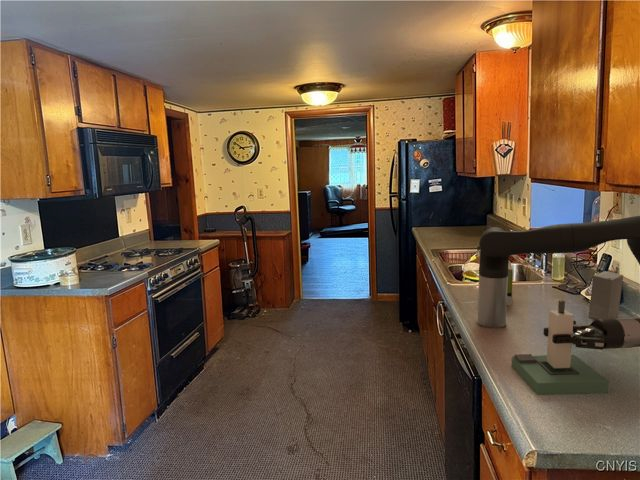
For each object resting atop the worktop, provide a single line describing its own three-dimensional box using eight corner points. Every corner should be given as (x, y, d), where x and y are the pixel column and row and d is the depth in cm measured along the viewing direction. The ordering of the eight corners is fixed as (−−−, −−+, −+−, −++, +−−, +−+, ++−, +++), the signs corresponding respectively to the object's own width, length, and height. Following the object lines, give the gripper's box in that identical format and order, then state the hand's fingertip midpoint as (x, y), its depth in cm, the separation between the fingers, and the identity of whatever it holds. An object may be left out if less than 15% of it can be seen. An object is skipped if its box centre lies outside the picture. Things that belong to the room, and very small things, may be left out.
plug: (546, 361, 117) (549, 299, 114) (561, 360, 117) (565, 298, 114) (554, 368, 113) (558, 304, 110) (570, 367, 113) (574, 303, 110)
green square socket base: (511, 366, 123) (512, 353, 123) (573, 364, 123) (574, 351, 123) (537, 394, 109) (538, 380, 108) (607, 392, 109) (609, 378, 108)
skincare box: (599, 312, 162) (602, 270, 159) (620, 318, 156) (624, 274, 153) (586, 317, 158) (590, 274, 155) (608, 323, 152) (612, 278, 149)
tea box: (484, 293, 189) (485, 258, 187) (509, 294, 186) (511, 260, 183) (484, 304, 176) (485, 267, 173) (512, 306, 172) (513, 268, 170)
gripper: (600, 309, 120) (536, 312, 120) (637, 329, 106) (564, 332, 106) (598, 336, 121) (534, 338, 122) (634, 359, 107) (562, 361, 108)
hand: (549, 335), depth 114 cm, fingers closed on plug, 4 cm apart
